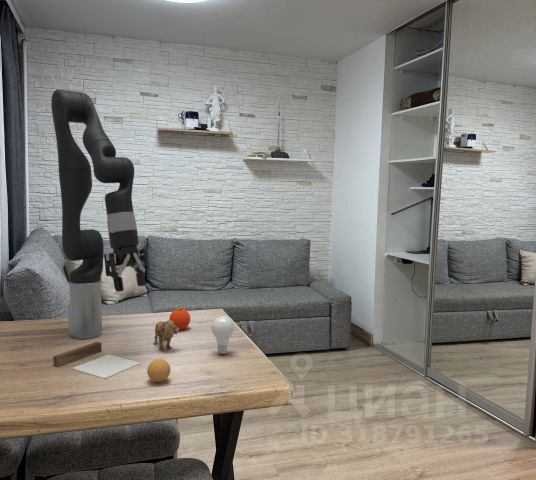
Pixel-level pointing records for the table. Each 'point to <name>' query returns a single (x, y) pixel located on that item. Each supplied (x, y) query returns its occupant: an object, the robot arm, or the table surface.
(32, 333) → the table surface
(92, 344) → the strip
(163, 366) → the ball
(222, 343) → the lightbulb
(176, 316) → the tomato
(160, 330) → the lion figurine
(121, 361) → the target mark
